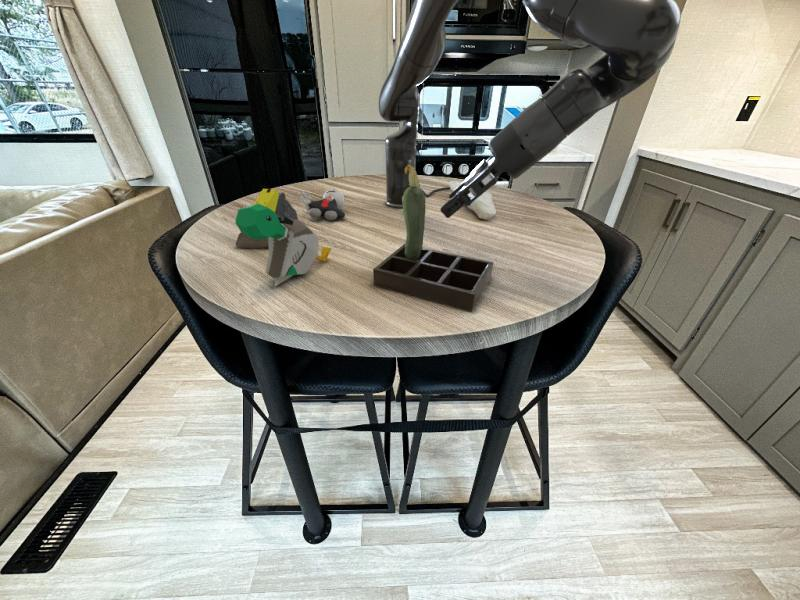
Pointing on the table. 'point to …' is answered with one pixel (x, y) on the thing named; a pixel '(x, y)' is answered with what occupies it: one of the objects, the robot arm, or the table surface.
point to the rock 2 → (479, 202)
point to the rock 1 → (281, 211)
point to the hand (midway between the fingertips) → (448, 206)
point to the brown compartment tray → (435, 276)
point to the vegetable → (414, 215)
